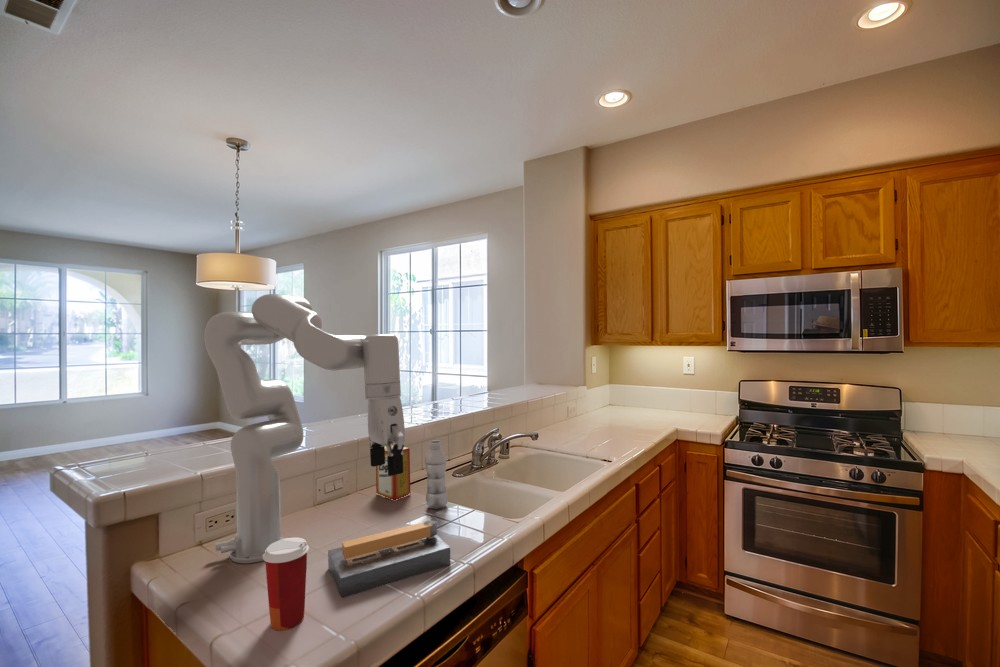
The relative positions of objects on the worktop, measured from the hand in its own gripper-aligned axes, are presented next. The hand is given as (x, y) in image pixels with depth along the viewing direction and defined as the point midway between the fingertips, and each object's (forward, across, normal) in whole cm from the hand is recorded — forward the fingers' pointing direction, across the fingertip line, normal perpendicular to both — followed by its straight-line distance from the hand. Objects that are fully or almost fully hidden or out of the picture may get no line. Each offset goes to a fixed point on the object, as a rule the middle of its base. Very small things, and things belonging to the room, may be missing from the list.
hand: (386, 469), depth 97 cm
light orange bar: (+18, +5, -3) cm, 19 cm away
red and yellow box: (+23, +48, -21) cm, 58 cm away
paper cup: (+23, -2, +21) cm, 32 cm away
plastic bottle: (+23, +30, -27) cm, 47 cm away
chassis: (+23, +5, -2) cm, 24 cm away
